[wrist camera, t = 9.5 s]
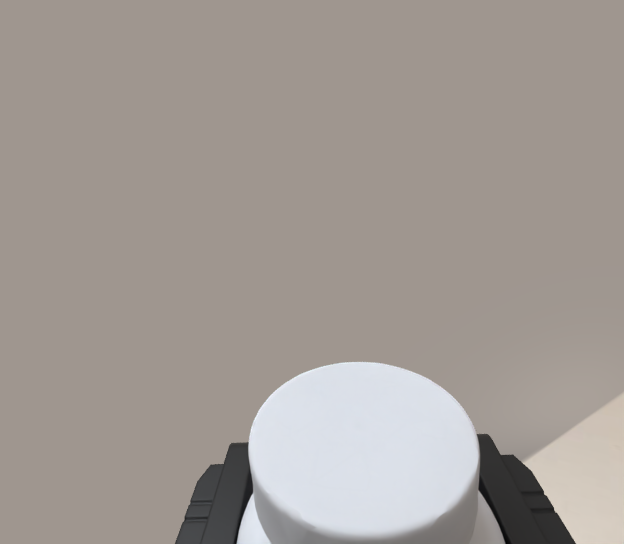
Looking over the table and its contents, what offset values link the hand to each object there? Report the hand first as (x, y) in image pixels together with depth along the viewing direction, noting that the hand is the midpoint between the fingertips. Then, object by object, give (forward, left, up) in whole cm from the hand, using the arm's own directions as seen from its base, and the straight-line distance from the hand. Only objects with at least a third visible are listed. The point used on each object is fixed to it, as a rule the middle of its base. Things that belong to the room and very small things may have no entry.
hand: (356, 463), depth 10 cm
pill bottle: (-1, -2, -6) cm, 7 cm away
